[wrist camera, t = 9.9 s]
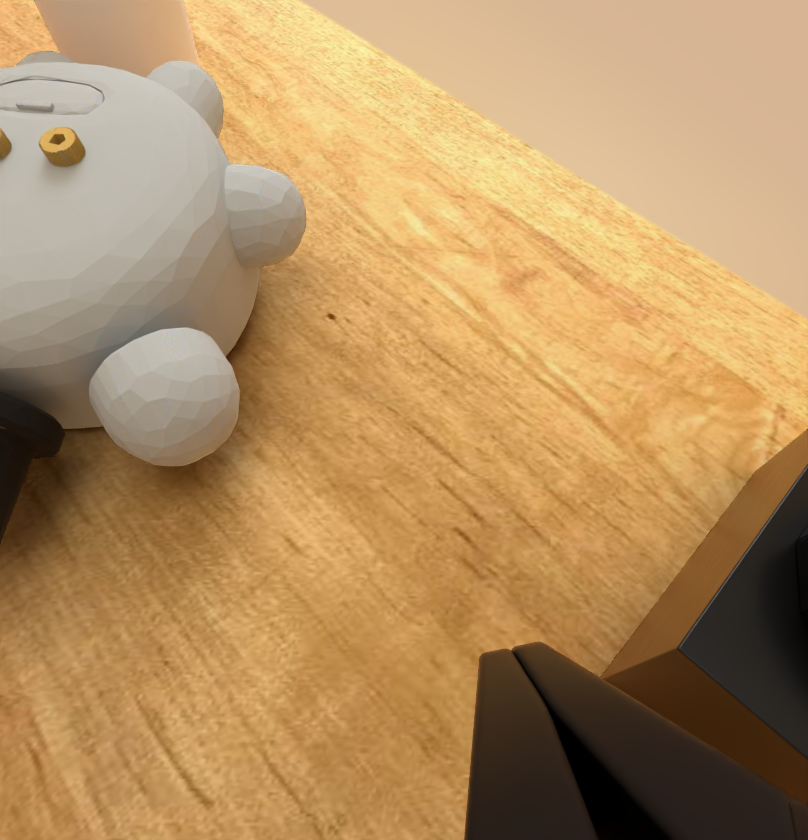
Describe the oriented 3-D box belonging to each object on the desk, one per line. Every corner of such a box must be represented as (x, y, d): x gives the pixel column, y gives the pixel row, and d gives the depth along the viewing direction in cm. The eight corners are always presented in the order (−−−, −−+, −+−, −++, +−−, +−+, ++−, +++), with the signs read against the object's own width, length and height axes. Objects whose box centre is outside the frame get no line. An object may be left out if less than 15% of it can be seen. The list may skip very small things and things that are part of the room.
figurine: (-5, 143, 30) (-206, 544, 22) (-147, -45, 23) (-531, 469, 15) (342, 171, 30) (260, 595, 22) (320, -13, 22) (180, 545, 14)
